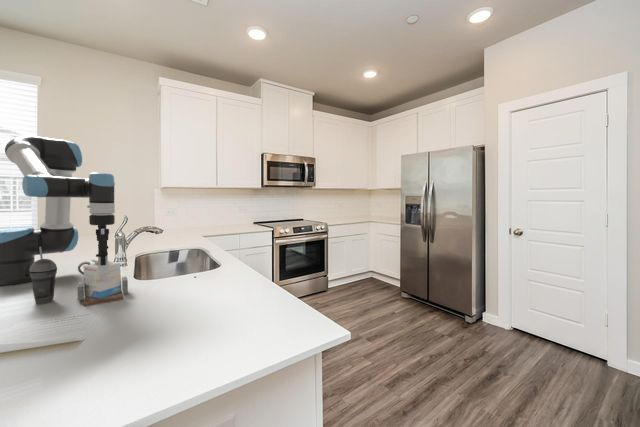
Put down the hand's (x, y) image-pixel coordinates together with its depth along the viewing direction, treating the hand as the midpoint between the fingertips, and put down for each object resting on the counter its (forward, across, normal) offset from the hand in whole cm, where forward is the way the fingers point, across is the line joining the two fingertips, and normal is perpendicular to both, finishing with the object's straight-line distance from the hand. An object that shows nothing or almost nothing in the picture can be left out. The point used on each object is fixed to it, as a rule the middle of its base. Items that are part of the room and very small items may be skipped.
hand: (102, 269), depth 106 cm
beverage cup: (+11, -5, -17) cm, 20 cm away
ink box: (+10, 0, 0) cm, 10 cm away
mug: (+11, -22, -2) cm, 25 cm away
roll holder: (+10, +1, 0) cm, 10 cm away
